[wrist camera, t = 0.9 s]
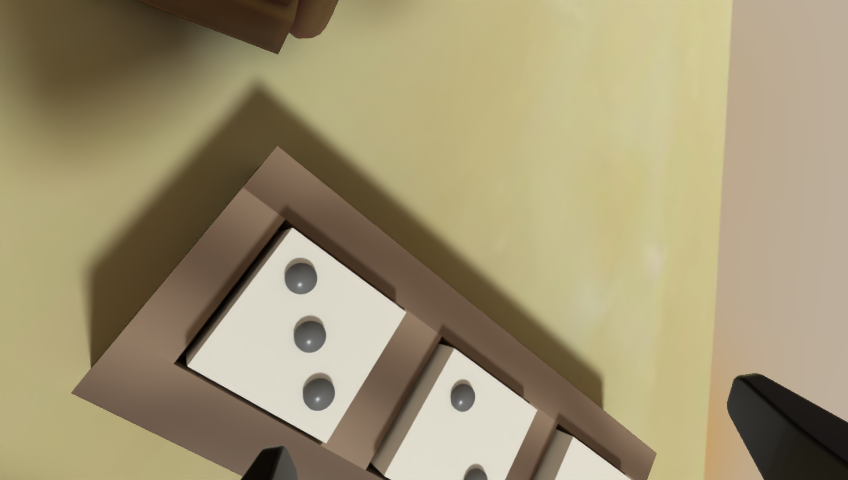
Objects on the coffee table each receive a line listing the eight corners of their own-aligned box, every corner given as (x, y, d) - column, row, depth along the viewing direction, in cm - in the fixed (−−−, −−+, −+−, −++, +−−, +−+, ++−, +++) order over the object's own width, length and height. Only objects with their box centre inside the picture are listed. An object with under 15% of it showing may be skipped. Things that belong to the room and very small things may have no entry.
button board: (537, 597, 29) (587, 643, 25) (90, 368, 18) (70, 393, 15) (604, 432, 32) (656, 453, 29) (260, 165, 22) (277, 145, 18)
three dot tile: (309, 423, 20) (327, 445, 18) (185, 353, 18) (187, 367, 15) (382, 307, 22) (408, 312, 20) (279, 232, 20) (293, 227, 17)
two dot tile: (451, 504, 23) (483, 532, 21) (361, 453, 21) (385, 477, 19) (504, 397, 25) (540, 411, 23) (426, 340, 23) (456, 349, 21)
